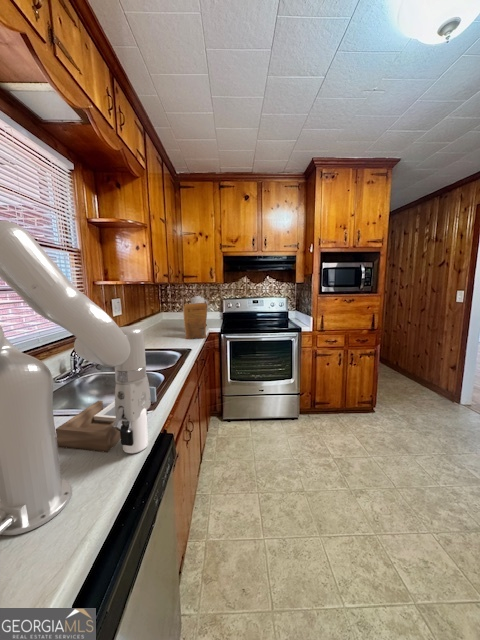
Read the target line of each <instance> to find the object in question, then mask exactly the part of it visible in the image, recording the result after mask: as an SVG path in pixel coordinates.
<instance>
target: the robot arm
mask: <svg viewBox="0 0 480 640" xmlns="http://www.w3.org/2000/svg"><path fill="white" fill-rule="evenodd" d="M0 279H1V280H2V281H4V282H5V283H6V284H7V285H8V286H9V287H10V289H12V290H13V292H14V293H16V295H17V296H19V297H20V298H21V300H23V301H24V302H25V304H26V305H27V306H29V307H30V308H31V309H32V311H34V312H35V313H36V314H38V315H39V316H41V317H43V318H44V319H46V320H47V321H50V322H51V323H53V324H55V325H57V326H58V327H61V328H62V329H64V330H66V331H67V332H69V333H70V334H72V335H73V337H76V338H75V340H74V344H73V348H74V351H75V353H76V355H77V356H78V357H79V358H81V359H83V360H85V361H89V362H91V363H94V364H98V365H101V366H103V367H108V368H114V373H115V374H114V375H115V376H114V377H115V388H114V401H115V415H116V418H115V421H114V423H113V427H114V428H116V429H117V430H118V431H119V432H120V437H121V440H120V444H121V446H123V445H127V446H132V445H133V430H131V426H132V422H133V421H135V420H136V419H137V418H139V417H140V414H141V411H142V410H143V409H144V408H145V409H146V414H147V415H148V410H149V408H150V407H151V404H152V402H151V398H150V389H149V387H150V383H149V378H148V375H147V365H146V364H147V362H146V346H145V345H146V343H145V331H144V329H143V328H142V327H140V326H134V325H129V326H120V327H119V326H118V324H117V323H116V322H115V320H114V319H113V318H112V317H111V316H110V315H109V314H108V313H107V312H106V311H105V310H104V309H103V308H101V307H100V306H99V305H98V304H96V303H95V302H94V301H93V300H91V299H90V298H89V297H88V296H87V295H85V294H84V293H83V292H82V291H80V289H78V288H77V287H76V286H75V285H74V284H73V283H72V282H71V281H70V279H69V278H68V277H67V276H66V275H65V273H64V272H63V271H62V270H61V268H60V267H58V265H57V264H56V263H55V261H54V260H53V259H52V258H51V257H50V256H49V255H48V253H47V252H46V251H45V250H44V248H43V247H42V246H41V245H40V244H39V243H38V242H37V240H36V239H35V238H34V237H33V235H31V234H30V232H28V230H26V228H24V227H22V226H21V225H19V224H17V223H15V222H13V221H12V222H11V221H7V220H0ZM53 396H54V377H53V375H52V372H51V370H50V368H49V367H48V366H47V364H46V363H44V362H43V361H41V360H40V359H38V358H36V357H34V356H32V355H29V354H26V353H24V352H22V351H21V350H19V349H18V347H16V346H15V345H14V344H13V343H12V342H11V341H10V340H9V339H8V338H6V337H5V331H4V329H3V327H2V326H1V325H0V535H2V536H14V535H15V536H16V535H20V534H25V533H27V532H29V531H33V530H34V529H37V528H38V527H41V526H42V525H44V524H47V522H49V521H51V520H52V519H53V518H55V517H56V516H58V514H60V512H62V510H63V509H64V508H65V507H66V506H67V504H68V503H69V501H70V500H71V497H72V495H73V489H72V484H71V483H70V482H69V481H68V480H67V479H63V478H62V475H61V474H62V473H61V467H60V466H61V465H60V459H59V457H60V456H59V449H58V448H59V447H58V444H57V436H56V425H55V417H54V406H53V405H54V403H53V401H54V397H53ZM124 416H125V417H126V419H124V418H123V417H124ZM124 421H125V422H128V424H127V426H125V425H124Z"/></svg>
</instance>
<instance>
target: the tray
mask: <svg viewBox="0 0 480 640" xmlns="http://www.w3.org/2000/svg"><path fill="white" fill-rule="evenodd" d="M156 388H157V387H156V386H149V389H150V398H151V403H156V402H157V389H156ZM115 418H116V415H115V400H114V401H112V402H111V403H110V404H108V405H107V406H106V407H103V410H102V411H100V412H99V413H97V414H96V415H95V416H94V422H106V423H113V422H114V421H115Z"/></svg>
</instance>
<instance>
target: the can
mask: <svg viewBox="0 0 480 640" xmlns="http://www.w3.org/2000/svg"><path fill="white" fill-rule="evenodd" d="M147 416H148V413H147V414H146V409H145V408H144V409H143V410H142V411H141V414H140V417H139V418H137V419H136V420H135V421H133V422H132V426H131V430H133V445H132V446H127V445H122V450H123V451H124V452H125V453H126V454H129V455H130V454H131V455H132V454H133V455H134V454H138V453H140V452H143V451H144V450H145V449H146V448H147V447H148V445H149V437H148V435H149V434H148V419H147V418H148V417H147ZM123 418H124V419H126V417H125V416H124V417H123ZM127 424H128V422H125V421H124V425H125V426H127Z"/></svg>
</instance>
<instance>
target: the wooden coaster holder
mask: <svg viewBox="0 0 480 640" xmlns="http://www.w3.org/2000/svg"><path fill="white" fill-rule="evenodd" d="M103 409H104V401H103V400H97V401H96V402H94V403H93V404H91V405H89V406H88V407H87V408H85V409H84V410H82V411H80V412H79V413H77V414H76V415H74V416H73V417H71V418H69V420H67V421H66V422H64V423H62V424H60V425H59V426H58V427H55V432H56V440H57V448H61V449H69V450H81V451H89V452H91V451H92V452H98V453H99V452H100V453H109V452H110V451H111V449H113V448H114V447H115V446H116V445H117V444H118V442H121V437H120V432H119V431H118V430H117V429H116V428H114V427H113V423H114V422H113V423H106V422H94V416H95V415H96V414H97V413H99V412H100V411H102V410H103Z"/></svg>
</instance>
